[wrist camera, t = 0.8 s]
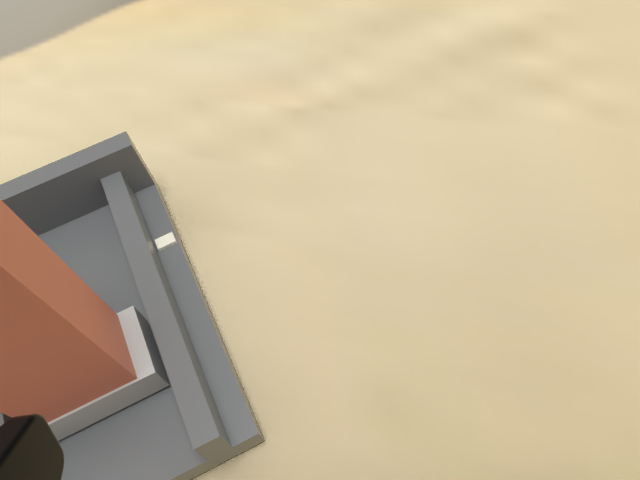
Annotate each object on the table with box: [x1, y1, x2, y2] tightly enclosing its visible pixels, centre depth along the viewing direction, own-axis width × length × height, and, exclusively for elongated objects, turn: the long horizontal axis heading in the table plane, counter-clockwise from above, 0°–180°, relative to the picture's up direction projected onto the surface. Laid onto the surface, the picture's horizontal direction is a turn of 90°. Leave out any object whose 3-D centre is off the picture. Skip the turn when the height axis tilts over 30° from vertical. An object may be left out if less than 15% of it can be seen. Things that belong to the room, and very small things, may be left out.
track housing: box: [0, 132, 265, 480], centre depth 24 cm, size 15×10×4 cm
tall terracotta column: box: [0, 199, 169, 441], centre depth 18 cm, size 3×5×13 cm, turn 116°
